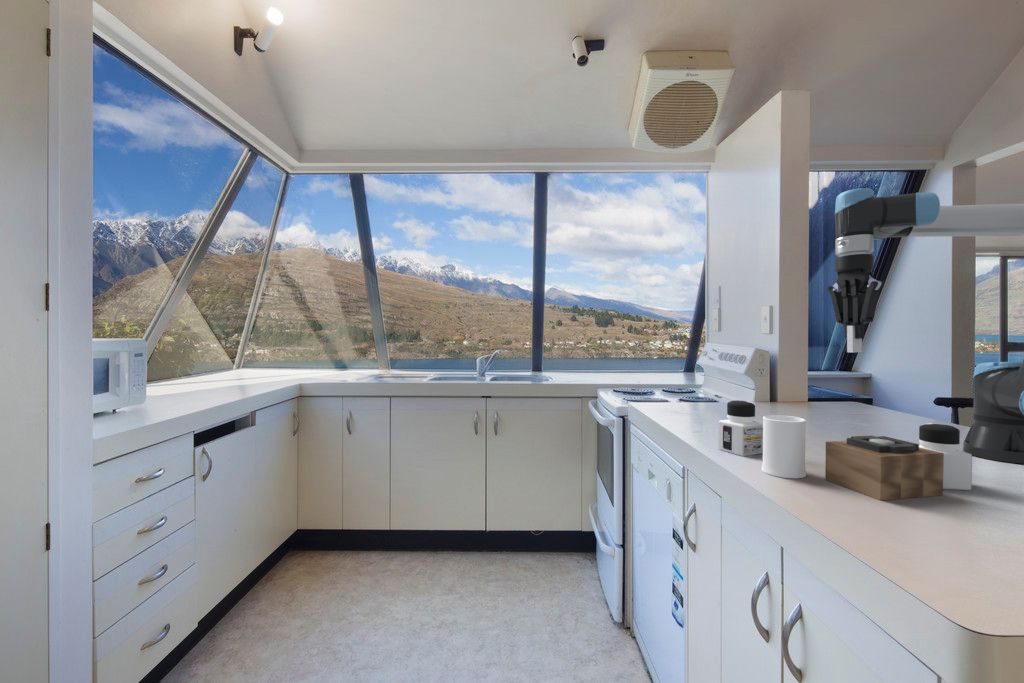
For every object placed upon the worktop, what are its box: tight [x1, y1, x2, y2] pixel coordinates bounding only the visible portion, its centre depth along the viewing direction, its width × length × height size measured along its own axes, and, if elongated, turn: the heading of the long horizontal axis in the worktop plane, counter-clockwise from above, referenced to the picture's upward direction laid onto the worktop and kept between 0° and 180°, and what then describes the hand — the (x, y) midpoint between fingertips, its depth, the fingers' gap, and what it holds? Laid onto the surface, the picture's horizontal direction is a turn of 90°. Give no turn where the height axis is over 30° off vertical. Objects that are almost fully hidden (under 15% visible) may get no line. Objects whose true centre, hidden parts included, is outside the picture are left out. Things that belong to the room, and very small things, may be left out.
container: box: [717, 399, 763, 457], centre depth 120 cm, size 8×8×13 cm
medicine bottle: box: [918, 422, 973, 491], centre depth 94 cm, size 7×7×12 cm
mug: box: [761, 414, 807, 480], centre depth 104 cm, size 12×8×12 cm
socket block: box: [824, 435, 944, 501], centre depth 92 cm, size 14×12×9 cm
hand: (854, 352), depth 114 cm, fingers closed
